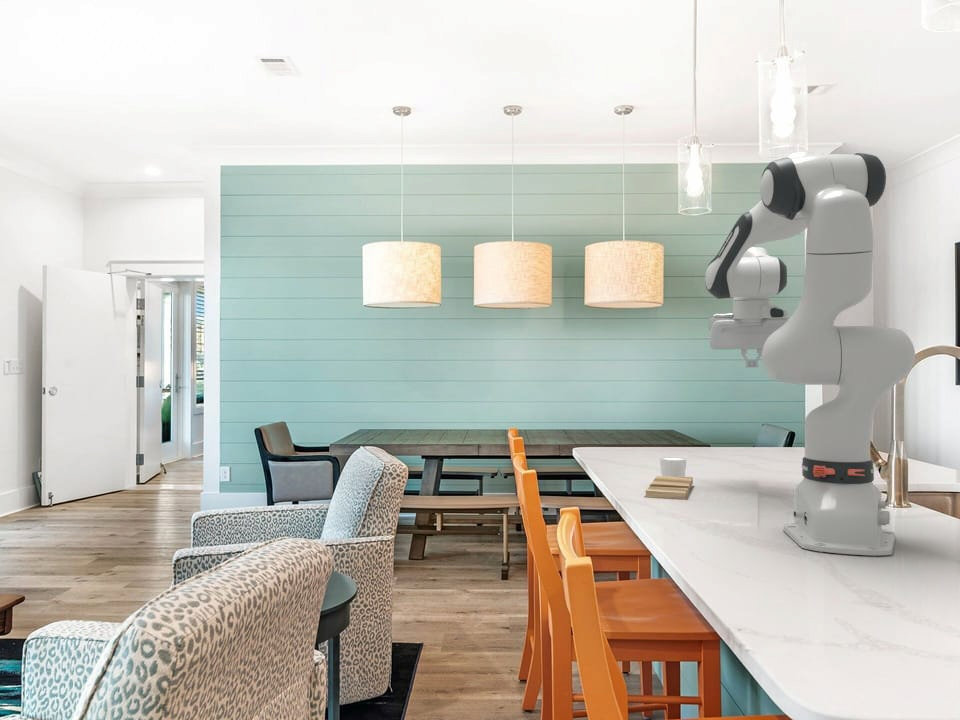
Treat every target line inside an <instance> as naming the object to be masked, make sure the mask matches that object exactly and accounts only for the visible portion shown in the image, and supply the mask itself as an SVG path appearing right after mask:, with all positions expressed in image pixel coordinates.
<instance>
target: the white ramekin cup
mask: <svg viewBox="0 0 960 720" xmlns="http://www.w3.org/2000/svg"><path fill="white" fill-rule="evenodd" d="M659 462H660V471H661V472H660V473H661V475H660V476H673V477H686V469H687V459H686V458H683V457H673V456H672V457H670V456H669V457H660V458H659Z"/></svg>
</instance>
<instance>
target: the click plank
mask: <svg viewBox="0 0 960 720" xmlns="http://www.w3.org/2000/svg"><path fill="white" fill-rule="evenodd" d="M693 479H694V478H693V477H692V476H691V477H690V476H685V477H673V476H662V475H656V476H655V478H654V479H653V481H652V482H651V483H650V484H649V486H650V485H657V486H677V487H688V494H689V491H690V489H691V486H693V483H694V480H693Z"/></svg>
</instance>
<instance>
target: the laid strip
mask: <svg viewBox="0 0 960 720" xmlns="http://www.w3.org/2000/svg"><path fill="white" fill-rule="evenodd" d="M645 495H646V497H650V498H649V499H664V498H667V500H681V499H685V500H684V501H687V500H686V498H687V496H688V487H677V486H657V485H650V484H649V486H648V488H647V489H646V490H645ZM646 497H645V498H646Z"/></svg>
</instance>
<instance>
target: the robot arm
mask: <svg viewBox="0 0 960 720" xmlns="http://www.w3.org/2000/svg"><path fill="white" fill-rule="evenodd" d="M886 183H887V173H886V168H885V166H884V164H883V162H882V161H881V160H880V158H879V157H878V156H876V155H874V154H869V153H863V152H862V153H861V152H857V153H852V154H850V153H847V154H846V153H828V154H827V153H826V154H825V153H814V152H811V151H806V150H805V151H804V150H803V151H802V150H801V151H796V152H793V153H791V154H789V155H787V156H786V157H782V158H779V159H776V160H773V161H771V162H769V163H768V164H767V166H766V167H765V168H764V170H763V172H762V174H761V178H760V184H759V185H760V188H759V192H760V197H761V199H760V201H759V202H758V203H757V204H756V205H754V206H753V207H752V208H751V209H750V210H748V211H746V212H744V213H743V214H741V215H740V217H739V218H738V219H737V221H736V222H735V224H734V225H733V227H732V229H731V230H730V232H729V233H728V236H727V237H726V238H725V240H724V242H723V244H722V246H721V248H720V249H719V250H718V252H717V254H716V256H714V258H712V260H711V261H710V262H709V264H708V265H707V268H706V271H705V276H704V278H705V280H704V281H705V288H706V290H707V291H708V292H709V294H711V295H712V296H714V297H715V298H716V299H718V300H722V299H731V298H733V299H732V312H731V313H715V314H714V315H712V316H710V317H709V318H708V329H709V331H710V335H709V336H710V338H709V347H710V348H711V350H715V351H716V350H719V351H720V350H723V351H724V350H740V354H741V357H743V359H744V360H745V368H749V369H750V368H759V360H760V359H762V360H761V361H762V364H763V368H764V369H765V371H766V373H767V374H768V375H769V377H770V378H771V379H773V381H777V382H781V383H786V384H793V385H798V386H799V385H801V386H804V385H805V386H806V385H809V386H810V385H811V386H812V385H817V386H818V385H819V386H821V385H824V386H825V385H827V386H828V385H829V386H830V385H831V386H832V385H834V386H839V390H838V394H837V395H836V397H835V398H834V399H832V400H831V401H828V402H825V403H823V404H821V405H819V406H816V407H815V408H814V409H812V410H811V411H810V412H809V413H808V414H807V415H806V417H805V419H804V456H803V457H802V462H801V463H802V464H801V469H802V474H801V475H802V476H803V478H802V480H801V482H799V483H798V484H797V485H796V486H795V487H794V488H793V490H794V491H793V492H794V493H793V523H786V524H783V527H782V530H783V532H784V533H786V534H787V536H789V537H790V538H791V539H792V540H793V541H794V542H795V543H796V544H797V545H798V546H799V547H800V548H802V549H805V550H810V551H816V552H821V553H822V552H825V553H831V554H842V555H852V556H853V555H854V556H859V555H860V556H891V555H893V553H894V548H895V543H896V538H897V537H896V532H895V531H893V530H888V529H883V526H887V525H890V524H891V523H890V522H891V521H890V519H891V518H890V515H891V514H890V511H889V510H884V509H886V508H887V504H886V503H887V502H886V501H885V500H882V491H881V490H880V489H879V488H878V487H877V486H876V485H875V484H874V483H873V481H874V480H875V476H874V475H875V466H874V461H873V460H872V459H871V437H872V424H873V419H874V415H875V413H876V409H877V407H878V405H879V403H880V401H881V400H882V398H883V397H885V395H886V394H887V392H888V391H890V389H892V388H893V387H894V386H895V385H896V384H898V383H900V382H901V381H902V380H904V379H905V378H906V377H907V376H908V375H909V373H910V372H911V370H912V369H913V366H914V365H915V364H914V363H915V359H916V353H915V347H914V344H913V342H912V340H911V339H910V337H909V335H907V334H906V332H904V331H903V330H901V329H897V328H892V327H886V326H885V327H884V326H879V325H850V326H849V325H845V326H843V325H842V326H841V325H840V326H838V325H834V323H835V320H836V319H837V317H838V316H839V314H840V313H842V312H844V311H846V310H848V309H850V308H852V307H854V306H856V305H858V304H860V303H861V302H863V301H864V300H865V299H866V298H867V297H868V296H869V295H870V293H871V291H872V288H873V287H872V286H873V261H874V260H873V259H874V256H873V255H874V251H873V250H874V232H873V231H874V229H873V221H872V213H871V208H870V207H873V206H875V205H876V204H877V203H878V202H879V201H880V199H881V198H882V196H883V194H884V193H885V189H886ZM805 230H806V239H805V259H804V260H805V265H804V279H803V287H802V293H801V298H800V299H799V302H798V305H797V307H796V308H795V310H794V312H793V313H792V315H791V316H790V311H789V310H788V309H785V308H781V307H779V306H776V305H774V306H773V305H771V299H770V298H771V297H773V296H777V295H779V294H780V293H782V291H783V290H784V289H786V287H787V285H788V269H787V265H786V264H785V263H784V262H783V261H782V260H781V259H780V258H779V257H776V256H772V255H769V253H768V250H767V249H766V248H765V247H761V246H759V245H762V244H767V243H769V242H776V241H781V240H786V239H790V238H793V237H795V236H798V235H800V234H801V233H803V232H804V231H805ZM748 350H756V354H757V357H756V359H754V360H749V358H748V357H747V355H746V354H748Z"/></svg>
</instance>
